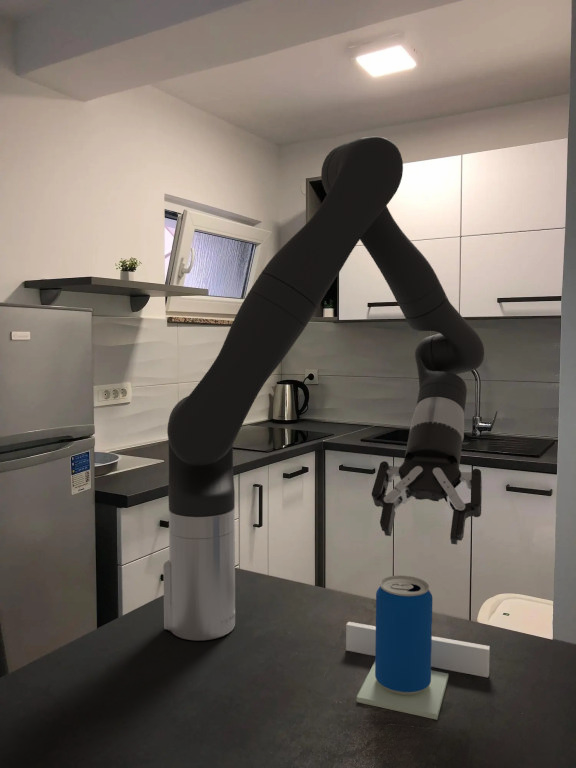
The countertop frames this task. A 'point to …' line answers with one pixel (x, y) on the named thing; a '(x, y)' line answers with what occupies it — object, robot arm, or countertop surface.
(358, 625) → the low wall
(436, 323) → the robot arm
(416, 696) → the mat
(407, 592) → the beverage can
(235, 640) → the countertop surface
